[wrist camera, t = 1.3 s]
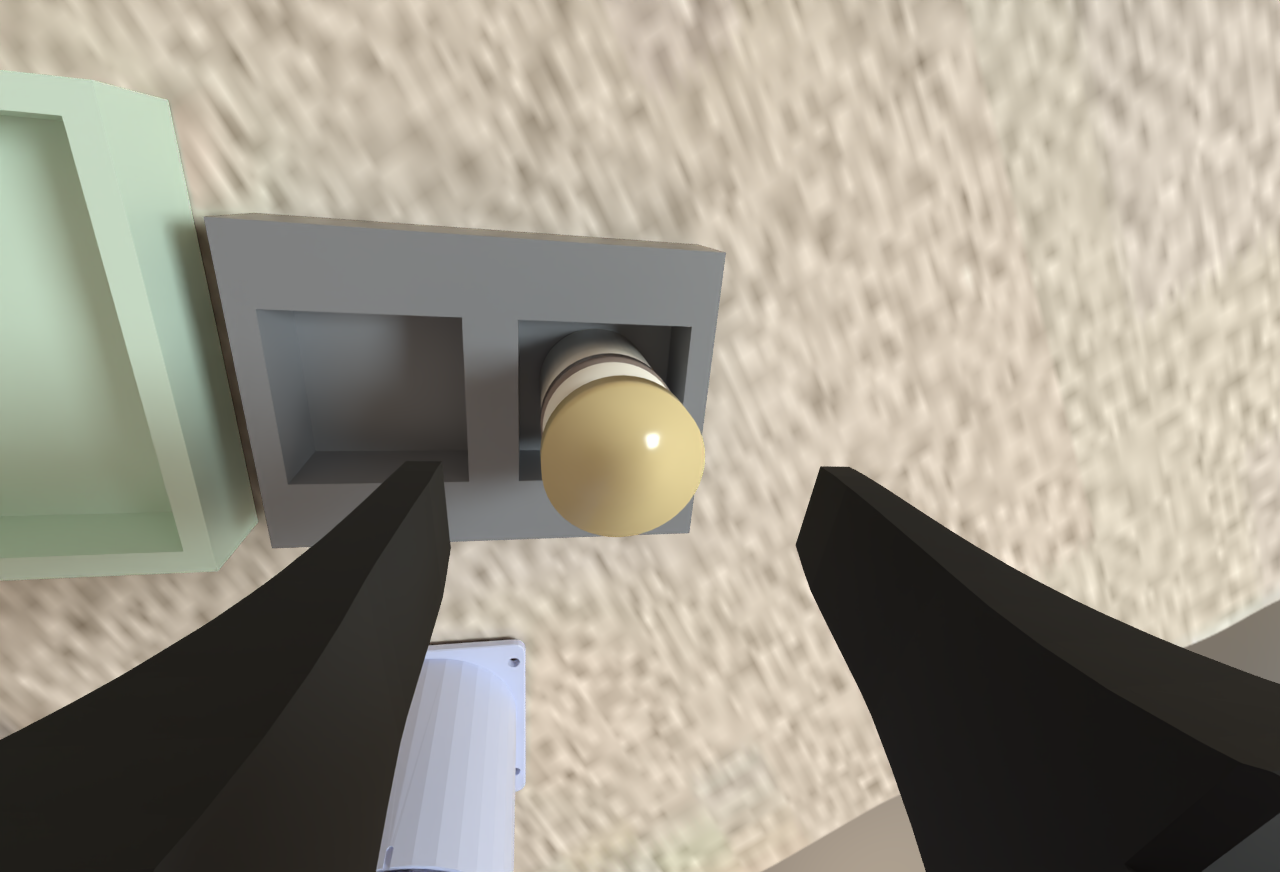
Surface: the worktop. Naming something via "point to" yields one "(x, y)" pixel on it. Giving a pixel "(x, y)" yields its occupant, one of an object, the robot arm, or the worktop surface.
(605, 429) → the cylinder
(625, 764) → the worktop surface
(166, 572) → the parts tray
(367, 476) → the fuse block
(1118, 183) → the worktop surface
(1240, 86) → the worktop surface
